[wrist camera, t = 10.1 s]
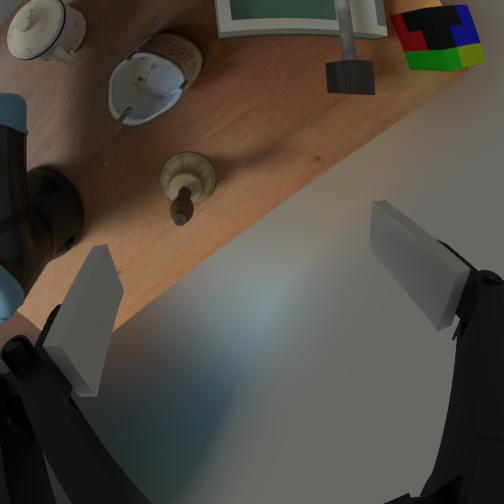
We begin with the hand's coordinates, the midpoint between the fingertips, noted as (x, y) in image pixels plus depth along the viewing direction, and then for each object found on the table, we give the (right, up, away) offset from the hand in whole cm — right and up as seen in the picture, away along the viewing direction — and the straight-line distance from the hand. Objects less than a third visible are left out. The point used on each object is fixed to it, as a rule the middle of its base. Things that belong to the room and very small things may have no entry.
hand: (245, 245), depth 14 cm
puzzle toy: (+29, +36, +22) cm, 51 cm away
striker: (+9, +35, +16) cm, 40 cm away
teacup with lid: (-27, +30, +15) cm, 43 cm away
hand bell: (-9, +10, +30) cm, 33 cm away
